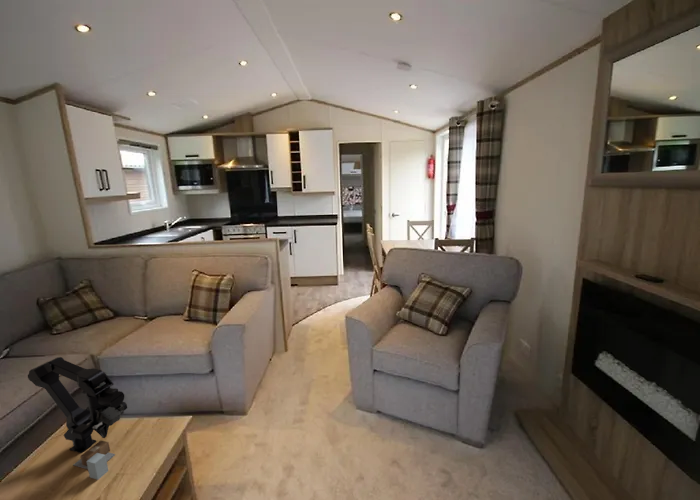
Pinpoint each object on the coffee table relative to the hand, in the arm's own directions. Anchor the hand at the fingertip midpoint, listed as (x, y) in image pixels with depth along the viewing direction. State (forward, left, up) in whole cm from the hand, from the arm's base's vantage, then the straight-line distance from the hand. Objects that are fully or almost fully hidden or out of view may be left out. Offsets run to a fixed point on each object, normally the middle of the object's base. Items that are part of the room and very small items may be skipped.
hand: (104, 437), depth 134 cm
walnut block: (0, 0, -4) cm, 4 cm away
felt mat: (0, -5, -6) cm, 8 cm away
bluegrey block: (+8, -10, -6) cm, 14 cm away
